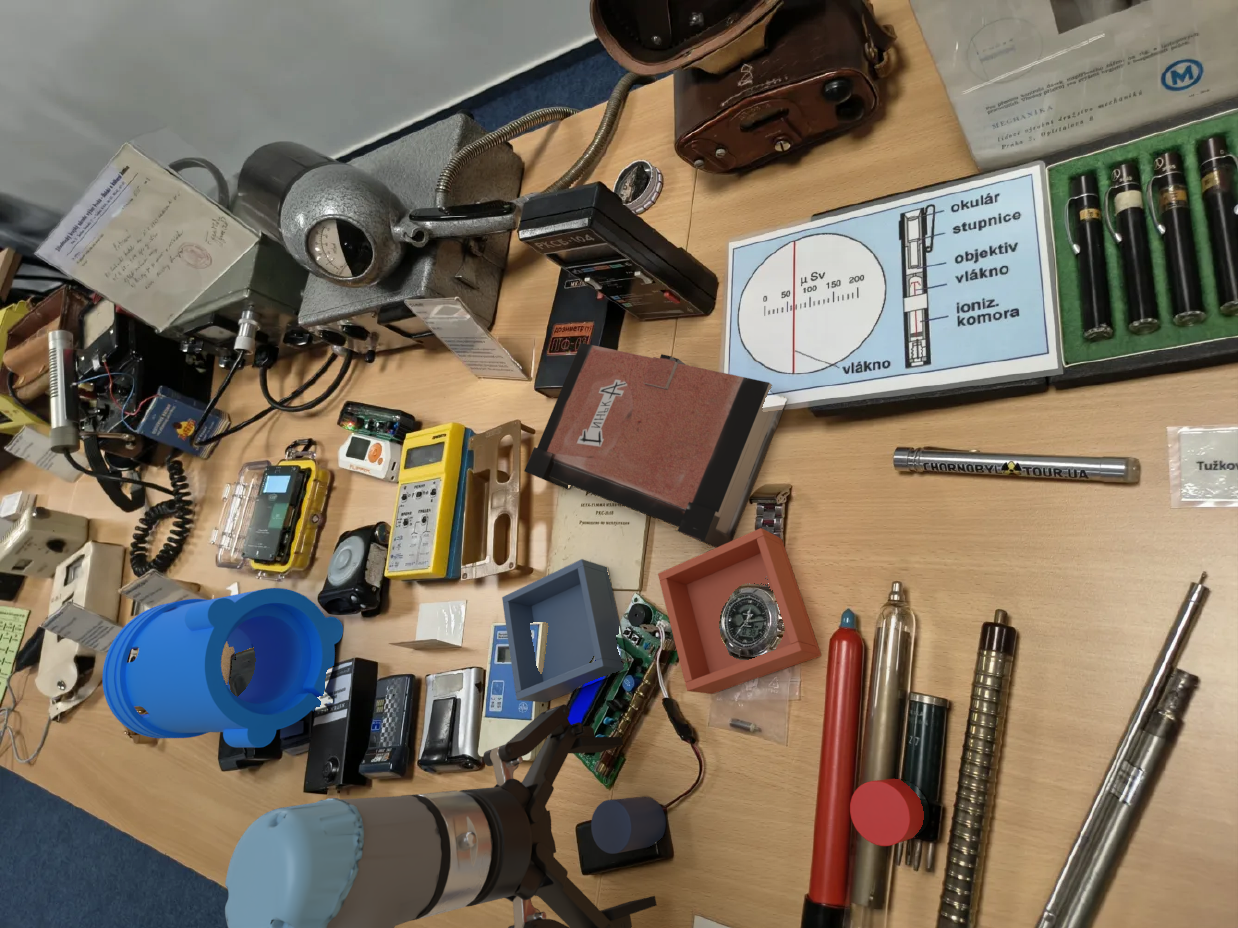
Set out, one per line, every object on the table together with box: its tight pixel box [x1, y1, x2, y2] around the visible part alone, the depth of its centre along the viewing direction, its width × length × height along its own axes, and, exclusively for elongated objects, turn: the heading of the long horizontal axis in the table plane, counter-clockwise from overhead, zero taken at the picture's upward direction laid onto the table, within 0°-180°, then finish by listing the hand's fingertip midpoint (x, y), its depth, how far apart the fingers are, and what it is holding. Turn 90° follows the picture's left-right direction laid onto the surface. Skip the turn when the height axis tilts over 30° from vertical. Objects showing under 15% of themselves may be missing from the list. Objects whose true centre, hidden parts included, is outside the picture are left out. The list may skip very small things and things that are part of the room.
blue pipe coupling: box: [101, 587, 344, 749], centre depth 105 cm, size 25×22×19 cm
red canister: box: [849, 778, 924, 847], centre depth 58 cm, size 4×4×6 cm
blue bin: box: [501, 558, 624, 703], centre depth 82 cm, size 12×12×5 cm
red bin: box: [657, 527, 822, 695], centre depth 71 cm, size 12×12×5 cm
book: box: [524, 342, 784, 548], centre depth 83 cm, size 26×18×5 cm
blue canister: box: [590, 796, 667, 855], centre depth 70 cm, size 4×4×6 cm
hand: (626, 820), depth 70 cm, fingers open, 13 cm apart
